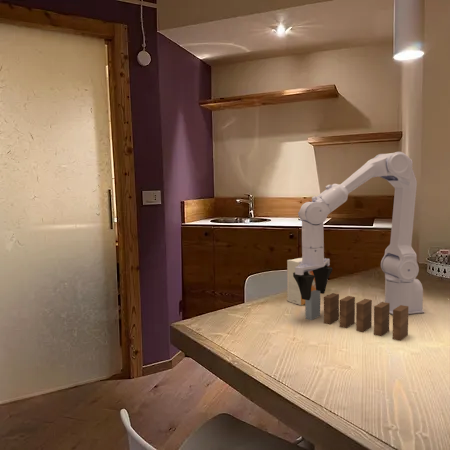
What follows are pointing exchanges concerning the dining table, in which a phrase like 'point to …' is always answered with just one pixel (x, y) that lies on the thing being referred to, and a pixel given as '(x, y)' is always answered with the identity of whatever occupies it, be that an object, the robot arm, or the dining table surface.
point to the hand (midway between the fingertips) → (313, 296)
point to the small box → (295, 283)
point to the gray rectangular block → (313, 306)
